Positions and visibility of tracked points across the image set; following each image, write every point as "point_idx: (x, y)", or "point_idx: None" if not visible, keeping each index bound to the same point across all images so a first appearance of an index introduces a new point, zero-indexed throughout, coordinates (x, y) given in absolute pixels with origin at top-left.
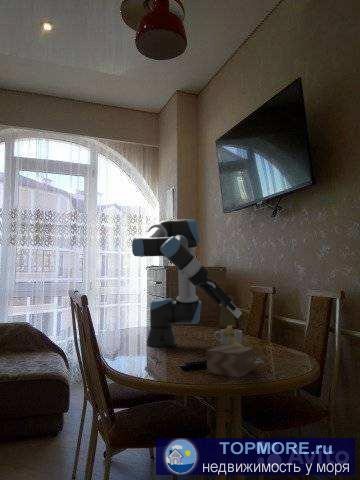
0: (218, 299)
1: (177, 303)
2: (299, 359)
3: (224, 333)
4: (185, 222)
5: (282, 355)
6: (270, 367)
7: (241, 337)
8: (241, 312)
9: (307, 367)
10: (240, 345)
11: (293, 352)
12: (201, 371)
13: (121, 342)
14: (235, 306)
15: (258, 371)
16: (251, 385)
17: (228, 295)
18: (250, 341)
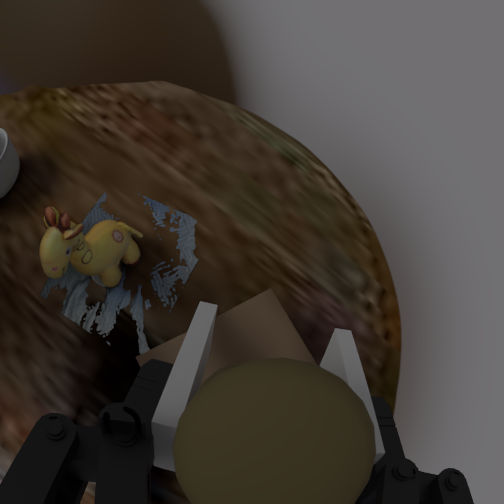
0: (148, 501)
1: None
2: (227, 125)
3: (52, 278)
4: None
5: (164, 129)
6: (262, 245)
7: (13, 146)
8: (352, 338)
9: (307, 165)
10: (109, 239)
11: (159, 94)
12: None
13: None
14: (367, 393)
15: (285, 310)
16: (393, 411)
17: (341, 465)
18: (10, 114)
